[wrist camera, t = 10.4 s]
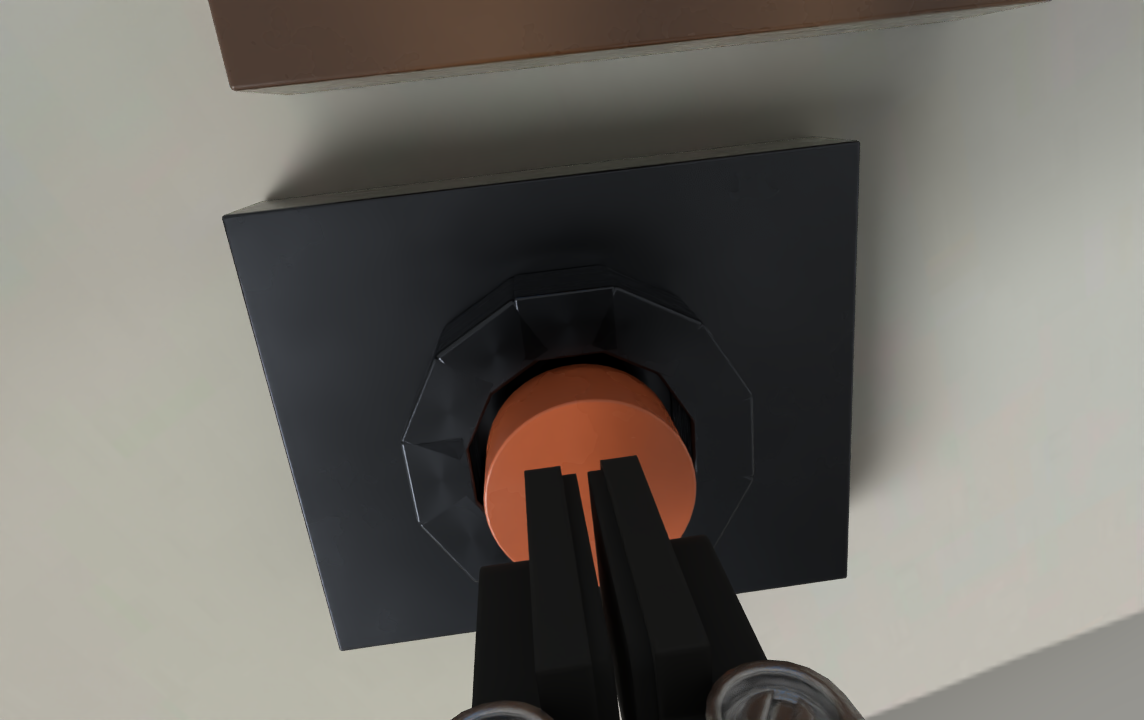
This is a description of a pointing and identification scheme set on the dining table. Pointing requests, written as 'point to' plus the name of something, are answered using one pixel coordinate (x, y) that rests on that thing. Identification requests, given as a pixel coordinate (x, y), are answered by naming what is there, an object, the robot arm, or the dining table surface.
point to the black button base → (557, 355)
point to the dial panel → (519, 33)
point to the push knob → (582, 447)
